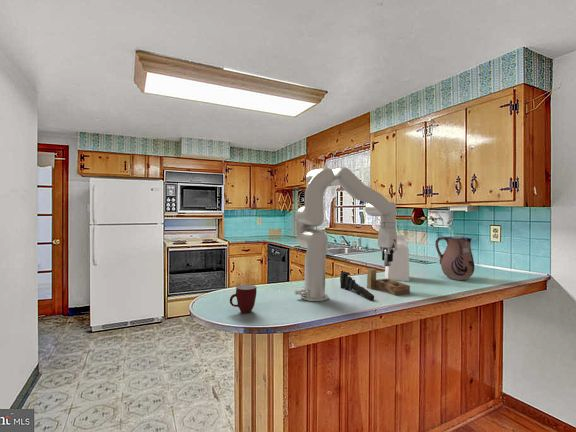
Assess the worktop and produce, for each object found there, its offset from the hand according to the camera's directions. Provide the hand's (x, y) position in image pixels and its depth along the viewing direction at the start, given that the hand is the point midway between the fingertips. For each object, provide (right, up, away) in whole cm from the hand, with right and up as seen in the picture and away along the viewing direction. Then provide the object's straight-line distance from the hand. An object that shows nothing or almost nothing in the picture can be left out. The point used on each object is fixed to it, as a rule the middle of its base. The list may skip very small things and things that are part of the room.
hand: (387, 260), depth 166 cm
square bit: (-8, -15, 0) cm, 17 cm away
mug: (-70, -15, -39) cm, 81 cm away
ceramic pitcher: (+48, -15, +26) cm, 57 cm away
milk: (+13, -14, +25) cm, 31 cm away
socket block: (+1, -15, -3) cm, 15 cm away
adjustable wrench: (-18, -15, -10) cm, 26 cm away
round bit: (0, -3, 0) cm, 3 cm away
